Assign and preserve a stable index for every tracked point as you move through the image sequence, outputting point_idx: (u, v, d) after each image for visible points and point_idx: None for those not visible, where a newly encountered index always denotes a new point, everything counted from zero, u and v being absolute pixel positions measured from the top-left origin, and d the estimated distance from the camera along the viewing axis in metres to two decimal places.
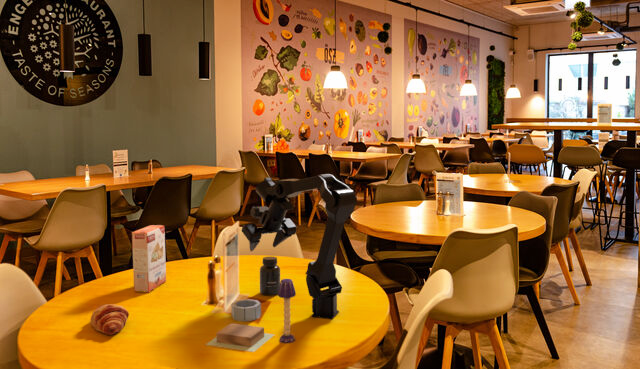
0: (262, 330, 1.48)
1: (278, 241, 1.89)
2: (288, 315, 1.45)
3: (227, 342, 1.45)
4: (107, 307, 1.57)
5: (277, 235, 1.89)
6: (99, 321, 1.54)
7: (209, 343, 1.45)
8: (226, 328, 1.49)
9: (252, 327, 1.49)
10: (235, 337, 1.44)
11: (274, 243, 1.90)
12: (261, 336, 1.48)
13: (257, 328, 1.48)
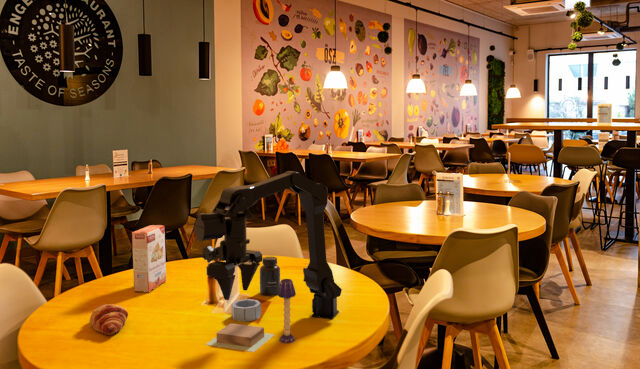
0: (262, 330, 1.48)
1: (248, 278, 1.51)
2: (288, 315, 1.45)
3: (227, 342, 1.45)
4: (106, 307, 1.57)
5: (243, 273, 1.51)
6: (98, 321, 1.54)
7: (209, 343, 1.45)
8: (226, 328, 1.49)
9: (252, 327, 1.49)
10: (235, 337, 1.44)
11: (244, 285, 1.51)
12: (261, 336, 1.48)
13: (257, 328, 1.48)
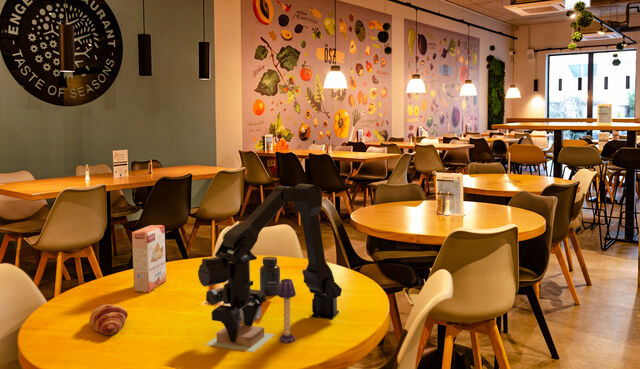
0: (262, 330, 1.48)
1: (251, 320, 1.50)
2: (288, 315, 1.45)
3: (227, 342, 1.45)
4: (106, 307, 1.57)
5: (246, 314, 1.51)
6: (97, 321, 1.54)
7: (209, 343, 1.45)
8: None
9: (252, 327, 1.49)
10: None
11: None
12: (261, 336, 1.48)
13: (257, 328, 1.48)
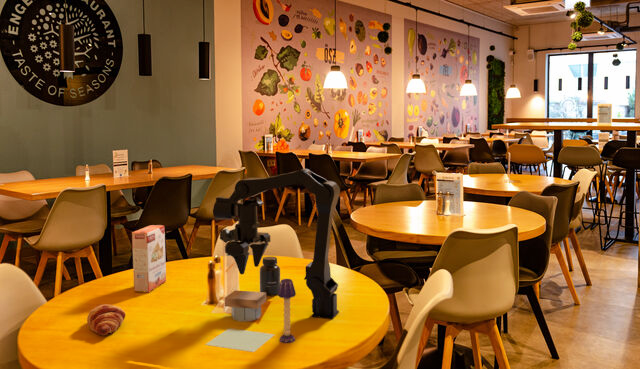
0: (265, 294, 1.66)
1: (259, 256, 1.75)
2: (288, 315, 1.45)
3: (235, 305, 1.61)
4: (102, 307, 1.57)
5: (254, 252, 1.76)
6: (93, 321, 1.54)
7: (209, 343, 1.45)
8: (232, 294, 1.65)
9: (255, 292, 1.66)
10: (242, 301, 1.60)
11: (255, 262, 1.76)
12: (264, 300, 1.65)
13: (260, 293, 1.66)
